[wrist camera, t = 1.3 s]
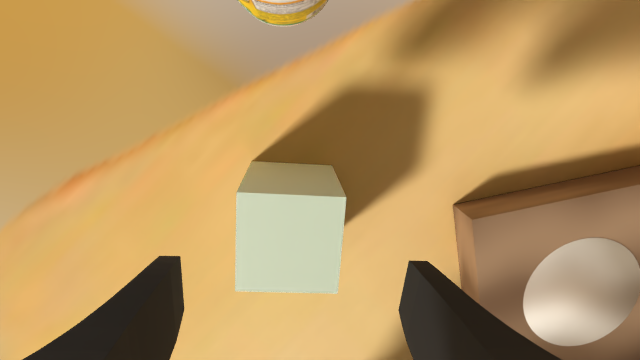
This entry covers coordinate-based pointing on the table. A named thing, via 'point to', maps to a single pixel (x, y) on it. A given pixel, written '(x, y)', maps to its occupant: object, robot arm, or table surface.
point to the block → (289, 228)
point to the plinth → (559, 263)
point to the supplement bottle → (283, 10)
